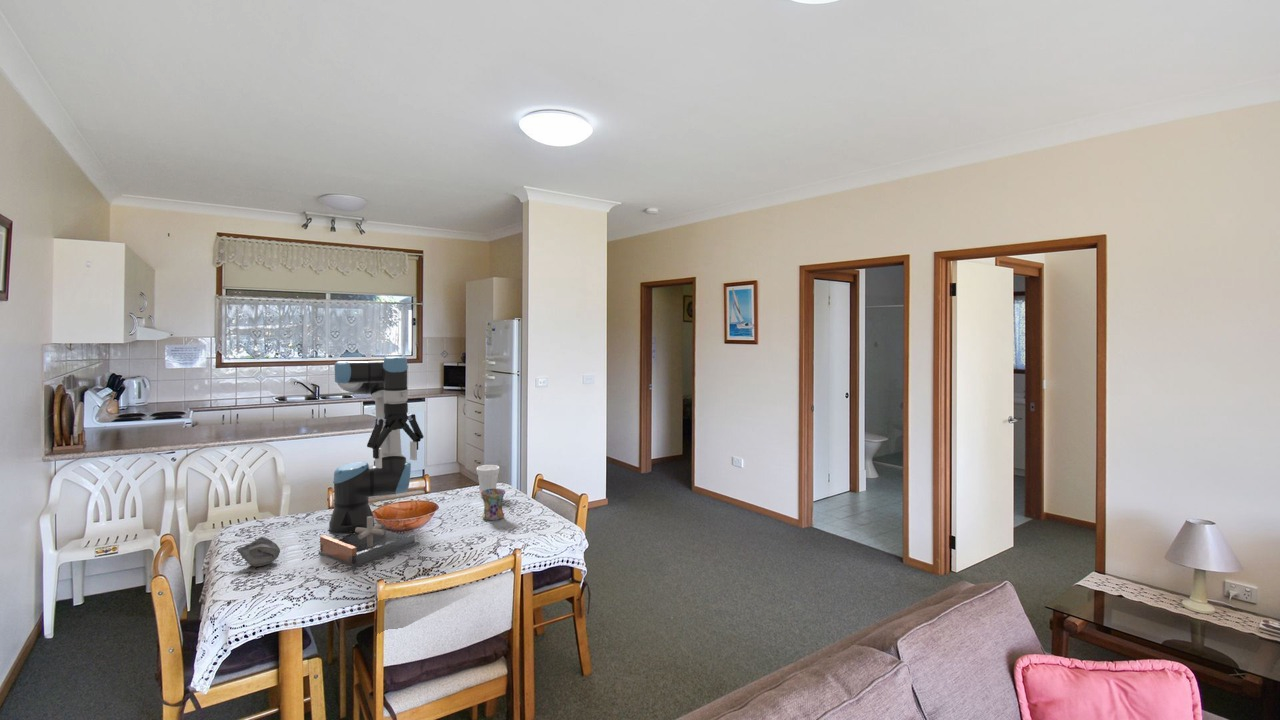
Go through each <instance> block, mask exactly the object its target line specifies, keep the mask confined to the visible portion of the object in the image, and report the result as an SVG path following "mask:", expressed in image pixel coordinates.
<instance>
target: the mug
mask: <svg viewBox="0 0 1280 720" xmlns="http://www.w3.org/2000/svg"><path fill="white" fill-rule="evenodd" d="M505 494H506V490H505V489H503V488H497V487H496V488H493V489H486V490H483V491H482V492H481V493H480V496H481V495H482V497H481V498H482V499H483V505H484V509H483V512H482V516H481V518H482V519H483V520H486V521H498V520H500V519H502V518H505V517H504V516H505V514H504V511H503V499H504V496H505Z"/></svg>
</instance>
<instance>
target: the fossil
mask: <svg viewBox="0 0 1280 720" xmlns="http://www.w3.org/2000/svg"><path fill="white" fill-rule="evenodd" d="M237 552H238V553H239V554H240V556H241V558H242V559H244V560H245V562H246V563H247V564H248V565H250V566H252V567H262V566H263V567H264V566H267V565H269V564H272V563H273V562H275V561H276V560H277V558H279V556H280V552H281V549H280V547H279V545H278V544H277V543H276V542H275V541H272V540H271V539H270V538H268V537H266V536H259V537H258V538H256V539H255V540H253V541H251V542H250V543H248V544H246V545H244V546H241V547H238V548H237Z"/></svg>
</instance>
